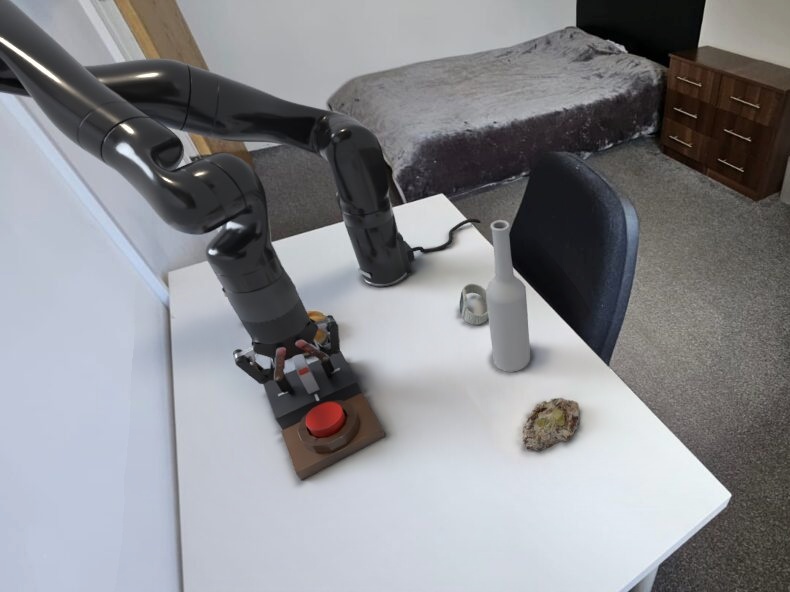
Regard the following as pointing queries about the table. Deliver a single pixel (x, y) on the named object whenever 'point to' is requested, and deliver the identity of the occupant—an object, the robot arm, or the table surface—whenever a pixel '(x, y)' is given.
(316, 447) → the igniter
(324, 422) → the button
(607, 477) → the table surface
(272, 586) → the table surface
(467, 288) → the wristwatch
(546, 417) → the mineral rock
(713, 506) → the table surface
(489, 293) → the bottle
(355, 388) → the panel
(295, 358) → the grey block red tab
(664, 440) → the table surface
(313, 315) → the pastry
